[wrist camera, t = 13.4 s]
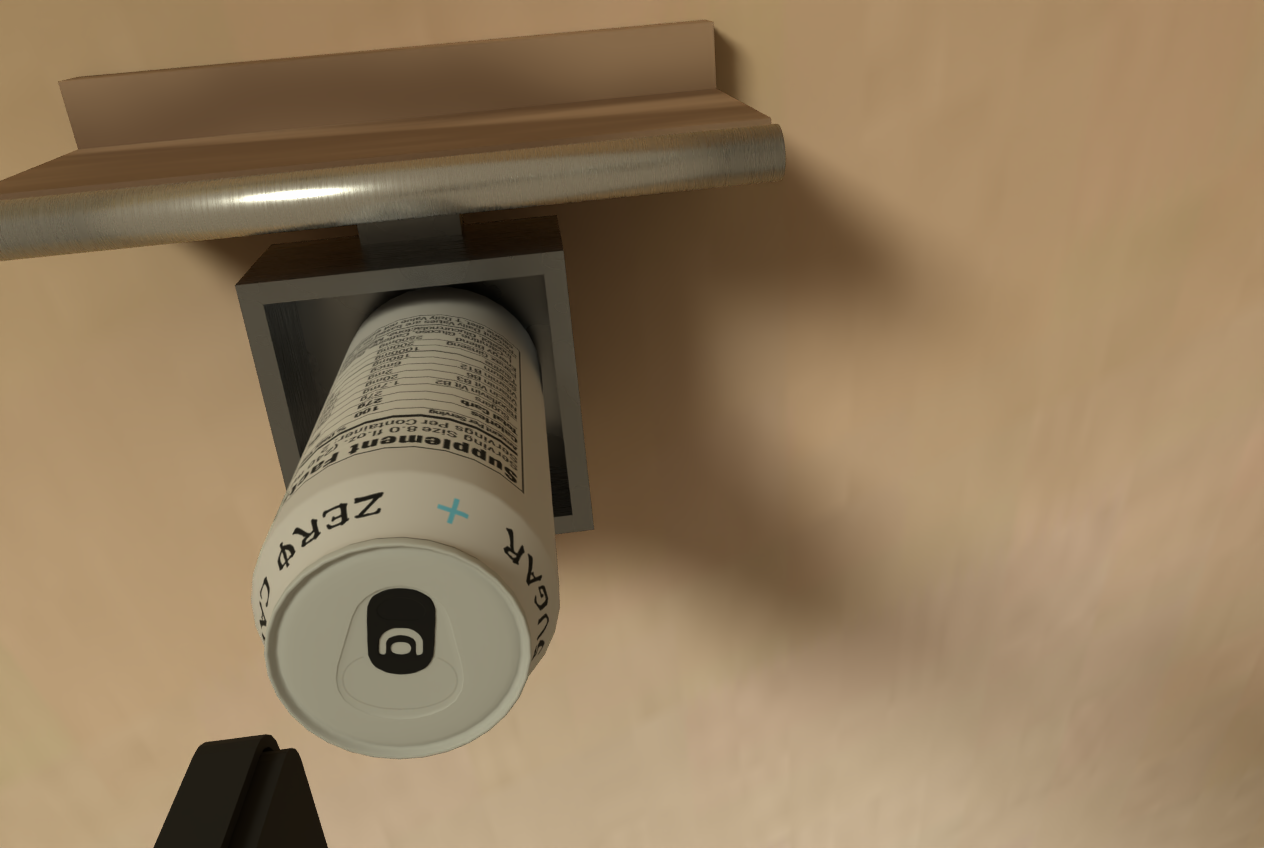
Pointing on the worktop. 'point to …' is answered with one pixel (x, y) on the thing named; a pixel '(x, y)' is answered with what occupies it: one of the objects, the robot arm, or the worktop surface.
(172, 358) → the worktop surface
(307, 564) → the energy drink can
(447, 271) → the cup bracket
